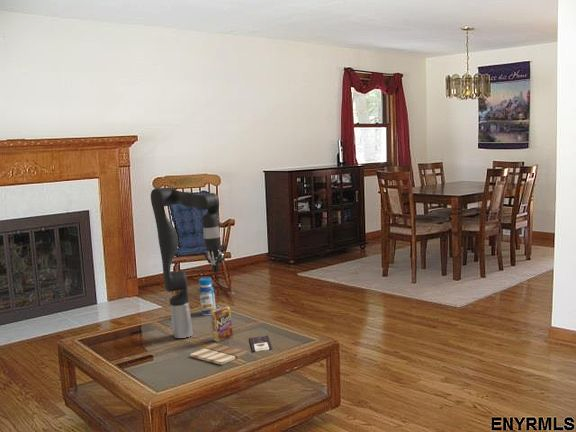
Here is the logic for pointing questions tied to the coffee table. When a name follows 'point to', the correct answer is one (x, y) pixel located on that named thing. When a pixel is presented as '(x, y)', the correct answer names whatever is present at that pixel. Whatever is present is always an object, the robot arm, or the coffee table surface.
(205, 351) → the plank
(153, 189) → the robot arm
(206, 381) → the coffee table surface
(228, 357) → the plank
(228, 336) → the candy box
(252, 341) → the chocolate bar
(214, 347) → the laid row
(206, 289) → the beverage bottle
